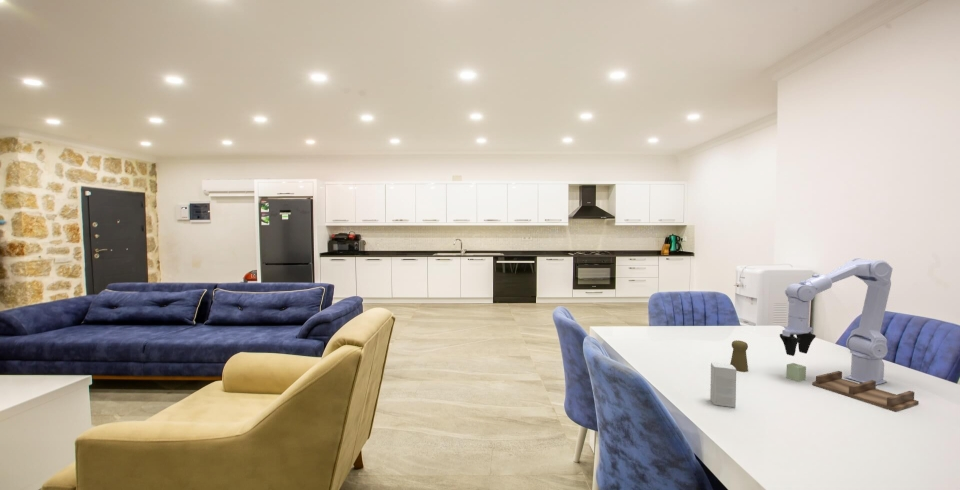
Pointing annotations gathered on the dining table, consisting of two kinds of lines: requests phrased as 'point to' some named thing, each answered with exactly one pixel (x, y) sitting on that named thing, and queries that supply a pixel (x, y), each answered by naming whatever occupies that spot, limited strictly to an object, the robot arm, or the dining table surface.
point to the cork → (739, 356)
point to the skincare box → (723, 385)
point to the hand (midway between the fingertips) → (796, 353)
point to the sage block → (796, 372)
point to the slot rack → (865, 392)
